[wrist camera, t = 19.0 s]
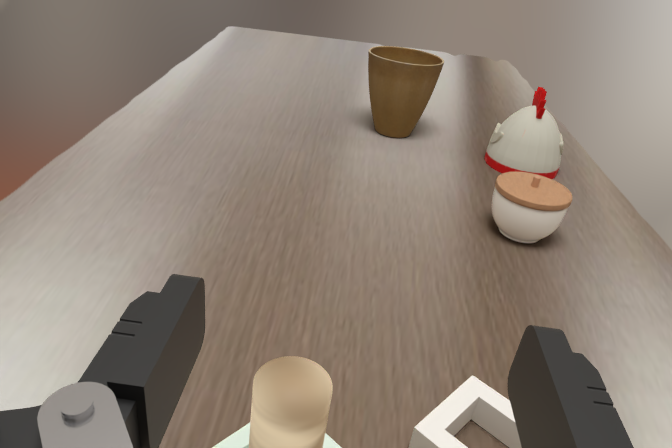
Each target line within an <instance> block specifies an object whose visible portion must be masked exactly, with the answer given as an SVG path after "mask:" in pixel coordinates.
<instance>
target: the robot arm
mask: <svg viewBox="0 0 672 448" xmlns="http://www.w3.org/2000/svg"><path fill="white" fill-rule="evenodd" d="M204 333H205V286H204V280H203V278H198V277H191V276H184V275H177V274H172V275H171V276H170V277H169V279H168V281H167V282H166V284H165V286H164V287H163V289H162V291H161V292H160V293H156V292H148V291H147V292H146V293H144V294H143V295H141V296H140V297H139V298H137V299H136V300H134V301H133V302H131V303H130V304H129V306H128V307H127V309H126V310H125V312H124V313H123V315H122V316H121V318H120V321H119V322H117V324H116V325H115V327H114V329H113V330H112V333H111V335H109V336H108V338H107V339H106V341H105V342H104V344H103V345H102V347H101V348H100V350H99V351H98V353H97V354H96V356H95V357H94V359H93V360H92V362H91V363H90V365H89V366H88V368H87V369H86V371H85V372H84V374H83V375H82V377H81V378H80V380H79V381H78V383H75V384H71V385H68V386H66V387H63V388H61V389H59V390H58V391H56V392H55V393H53V394H52V395H51V396H50V397H48V398H47V399H46V401H45V402H44V403H43V404H42V405H40V406H36V407H31V408H23V409H15V410H7V411H0V448H159V445H160V443H161V441H162V438H163V436H164V434H165V431H166V429H167V427H168V424H169V422H170V420H171V417H172V415H173V413H174V410H175V408H176V406H177V403H178V401H179V399H180V396H181V394H182V392H183V389H184V387H185V385H186V382H187V380H188V378H189V375H190V373H191V371H192V368H193V366H194V364H195V361H196V359H197V357H198V354H199V352H200V350H201V347H202V343H203V339H204ZM508 395H509V399H510V403H511V407H512V411H513V415H514V419H515V423H516V427H517V431H518V435H519V439H520V443H521V447H522V448H634V447H633V445H632V443H631V441H630V439H629V437H628V434H627V432H626V430H625V428H624V426H623V424H622V421H621V419H620V417H619V415H618V413H617V411H616V409H615V408H613V402H612V400H611V398H610V396H609V393H607V392H606V387H605V385H604V383H603V381H602V378H601V376H600V374H599V372H598V370H597V369H596V368H595V367H594V366H593V365H592V364H591V363H590V362H589V361H588V360H587V359H586V358H585V356H584V355H583V354H580V353H573V352H572V350H571V348H570V346H569V343H568V341H567V339H566V336H565V334H564V332H563V331H562V330H560V329H554V328H547V327H539V326H532V325H529V326H528V327H527V328H526V330H525V332H524V334H523V337H522V339H521V342H520V345H519V347H518V350H517V352H516V355H515V358H514V360H513V363H512V366H511V368H510V371H509V376H508Z"/></svg>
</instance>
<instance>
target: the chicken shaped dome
mask: <svg viewBox="0 0 672 448" xmlns="http://www.w3.org/2000/svg"><path fill="white" fill-rule="evenodd" d="M546 93H547V92H546V91H545V89H543V88H541V87H538V89H537V91H535V94H534V99H533V104H532V106H528V107H525V108H522V109H520V110H518V111H517V112H515V113H514V114H512V115H511V116H510V117H508V118H507V119H506V120H505V121H504V122H503V123H502V124H500V123H498V124H497V126H496V128H495V130H494V132H493V134H492V136H491V139H490V143H489V145H488V147H487V150H486V154H485V158H484V159H485V161H486V163H487V164H488V165H489V166H490V167H491V168H493V169H495V170H497V171H498V172H501V173H506V172H527V173H533V174H537V175H541V176H544V177H547V178H549V179H553V178H554V177H555V176H556V175H557V172H558V170H559V166H560V161H561V155H562V152H563V145H564V142H563V141H562V134H561V133H559V129H558V126H557V124H556V121H555V120H554V118H553V117H552V115H551V114H550V113H549V112H548V111H547V110H546V109H544V105H545V103H546V100H545V96H546Z"/></svg>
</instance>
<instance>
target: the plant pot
mask: <svg viewBox="0 0 672 448" xmlns="http://www.w3.org/2000/svg"><path fill="white" fill-rule="evenodd" d="M443 64H444V60H443V59H442V58H440V57H438V56H436V55H434V54H431V53H427V52H424V51H420V50H415V49H409V48H403V47H392V46H378V47H373V48H370V49H369V64H368V72H369V92H370V102H371V109H372V116H373V121H374V126H375V130H376V131H377V132H378V133H380V134H382V135H385V136H389V137H395V138H403V137H407V136H409V135H410V133H411V132H412V130H413V129H414V127H415V125H416V124H417V122H418V120H419V119H420V117H421V115H422V113H423V111H424V109H425V107H426V105H427V103H428V101H429V99H430V97H431V95H432V92H433V90H434V88H435V85H436V83H437V80H438V77H439V75H440V72H441V70H442V67H443Z"/></svg>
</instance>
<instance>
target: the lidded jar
mask: <svg viewBox="0 0 672 448" xmlns="http://www.w3.org/2000/svg"><path fill="white" fill-rule="evenodd" d="M571 201H572V194H571V192H570V191H569V190H568V189H567V188H566V187H564V186H563V185H562V184H560V183H558V182H556V181H554V180H552V179H549V178H547V177H544V176H541V175H537V174H533V173H527V172H506V173H503V174H501V175H499V176H498V177H497V179H496V183H495V189H494V193H493V197H492V215H493V218H494V221H495V223H496V224H497V226H498V227H499V231H500V232H501V233H502V234H503V235H504V236H505V237H507V238H509V239H511V240H513V241H516V242H520V243H535V242H537V241H539V240H540V239H543V238H545V237H547V236H549V235H550V234H552V233H553V232H554V231H555V230H556V229H557V228H558V226H559V225H560V224H561V222H562V220H563V218H564V216H565V214H566V212H567V209H568V207H569V206H570V204H571Z"/></svg>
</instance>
